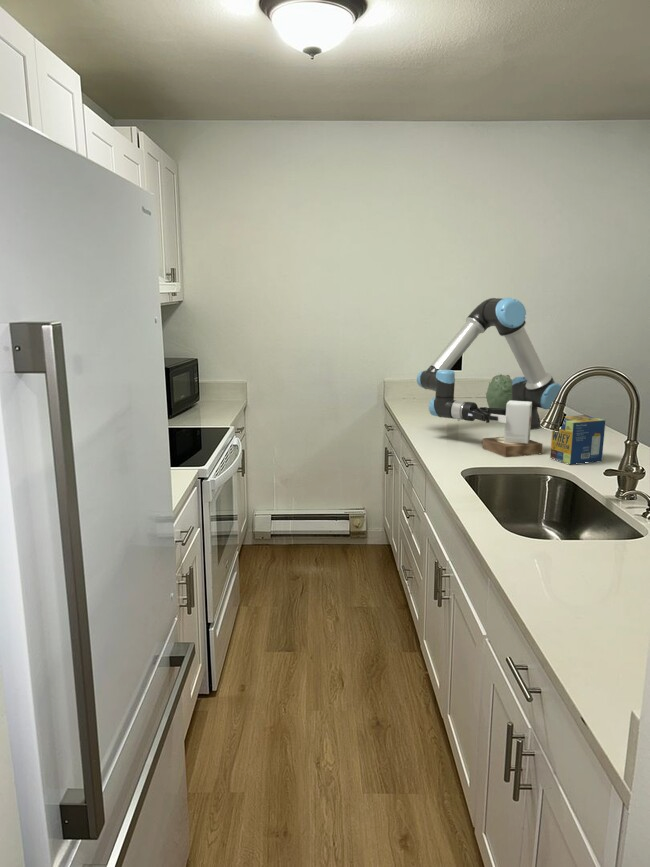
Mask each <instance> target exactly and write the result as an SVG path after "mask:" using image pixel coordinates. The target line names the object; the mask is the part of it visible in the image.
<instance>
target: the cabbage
mask: <svg viewBox="0 0 650 867" xmlns="http://www.w3.org/2000/svg"><path fill="white" fill-rule="evenodd" d="M512 382H513V379H512V378H511V376H510V375H509V374H505V375H504V374H502V373H501V374H498V375H495V376H493V377H491V381H489V382H488V387H487V390H486V393H485V398H486V402H487V406H488V408H506V404H507V403H508V402H509V401H511V398H512Z"/></svg>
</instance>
